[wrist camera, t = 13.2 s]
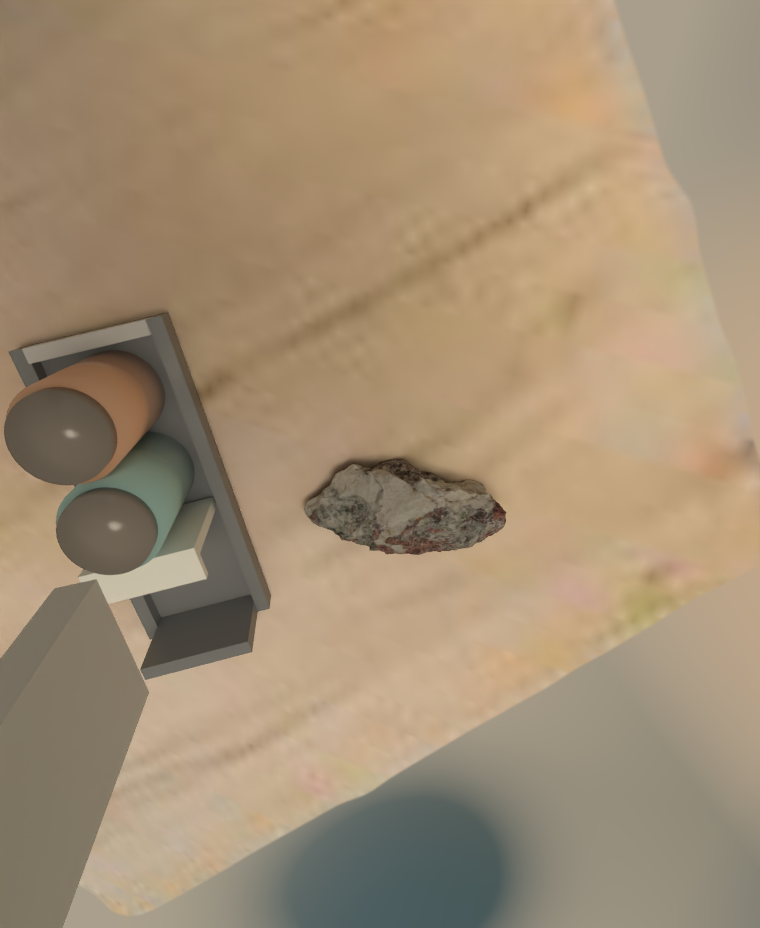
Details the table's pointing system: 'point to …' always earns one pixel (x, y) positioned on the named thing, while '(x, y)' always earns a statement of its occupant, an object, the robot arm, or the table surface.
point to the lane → (227, 541)
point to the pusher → (165, 558)
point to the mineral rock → (405, 509)
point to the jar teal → (126, 508)
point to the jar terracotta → (84, 417)
